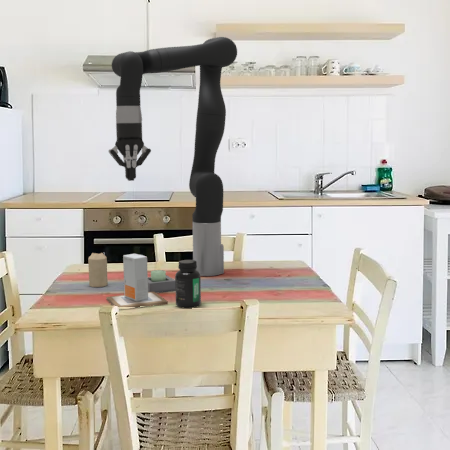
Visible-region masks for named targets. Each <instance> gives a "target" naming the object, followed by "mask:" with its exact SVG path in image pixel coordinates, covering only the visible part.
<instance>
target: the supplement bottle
mask: <svg viewBox="0 0 450 450" xmlns="http://www.w3.org/2000/svg"><path fill="white" fill-rule="evenodd" d="M177 267H178V271H176V273H175V275H174V280H175V291H174V292H175V305H176V306H177V308H182V307H184V308H183V309H191V308H192V307H194V308H197V306H198V307H200V306H201V304H202V287H201V286H202V285H201V284H202V283H201V279H202V278H201V277H202V276H201V275H200V273H199V271H197V270H196V268H197V262H196V261H195V260H193V259H184V260H183V259H182V260H179V261H178V266H177Z"/></svg>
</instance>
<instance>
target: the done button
mask: <svg viewBox="0 0 450 450" xmlns="http://www.w3.org/2000/svg"><path fill="white" fill-rule="evenodd" d="M166 275H167V271H166V270H163V269H156V270H155V269H154V270H151V271H150V277H151V281H152V282H158V281H166Z"/></svg>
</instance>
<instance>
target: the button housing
mask: <svg viewBox="0 0 450 450" xmlns="http://www.w3.org/2000/svg"><path fill="white" fill-rule="evenodd" d="M148 292H156V293H157V294H160V293H168V292H176V291H175V278H174V279H173V278H172V277H170V276H169V275H167V274H166V281H158V282H152V281H151V276H148Z"/></svg>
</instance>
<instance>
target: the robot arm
mask: <svg viewBox="0 0 450 450" xmlns="http://www.w3.org/2000/svg"><path fill="white" fill-rule="evenodd" d="M237 56H238V47H237V45H236V43H235V42H234V41H233V40H232V39H230V38H228V37H226V36H225V37H224V36H217V37H213V38H209V39H206V40H205V41H204V42H203V43H200V44H194V45H185V46H183V45H181V46H169V47H168V46H167V47H159V48H152V49H151V48H150V49H147V50H144V51H131V50H130V51H126V52H122V53H118V54H116V55H115V56H114V58H112V62H111V69H112V71H113V72H114V74H115V75H116V76H117V77H119V78H120V82H119V86H118V87H117V88H116V92H115V99H116V101H115V102H116V110H115V127H116V128H115V129H116V132H115V133H116V141H115V145H114V146H113V147H112V148H110V149H108V153H109V154H110V156H111V157H112V158H113V159H114V161H115V162H116V163H117V164H118V166H120V167H123V168H124V173H125V176H124V177H125V179H126V180H127V181H128V182H129V181H131V182H132V181H135V179H136V178H137V168H138V167H139V166H142V165H143V163H144V162H145V160H147V157H148V156H149V155H150V154H151V152H152V150H151V148H148V147H147V146H146V145H145V143H144V141H143V118H142V116H143V114H142V108H141V87H142V82H143V75H145V74H160V73H167V72H173V71H178V70H182V69H186V68H192V67H199V88H198V100H197V101H198V102H197V109H196V110H197V111H196V120H195V121H196V122H195V136H194V151H193V152H194V153H193V159H192V160H193V162H192V164H191V165H192V166H191V172H190V176H189V181H188V187H189V191H190V193H191V194H192V196H193V197H194V198H195V210H194V211H193V213H192V216H191V217H192V220H191V221H192V260H195V261H196V262H197V268H196V270H197V271H199V273H200V275H201V277H211V276H212V277H214V276H219V275H221V274H225V268H224V267H225V265H224V264H225V263H224V262H225V257H224V255H225V254H224V252H225V251H224V250H225V248H224V244H222V215H223V213H224V212H223V211H224V183H223V180H222V178H221V177H220V175H218V174H217V173H215V167H216V166H215V165H216V163H215V162H216V157H217V153H218V150H219V147H220V146H221V142H222V139H223V137H224V132H225V128H226V117H227V111H226V110H227V109H226V104H225V100H224V97H223V96H224V95H223V93H222V92H223V91H222V88H221V79H222V78H221V77H222V70H223V68H226V67H229V66H230V65H232V64H234V62H235V60H236V59H237ZM119 154H121V155H122V158H121V157H120V156H119ZM139 154H140V156H139V157H138V155H139Z"/></svg>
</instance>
